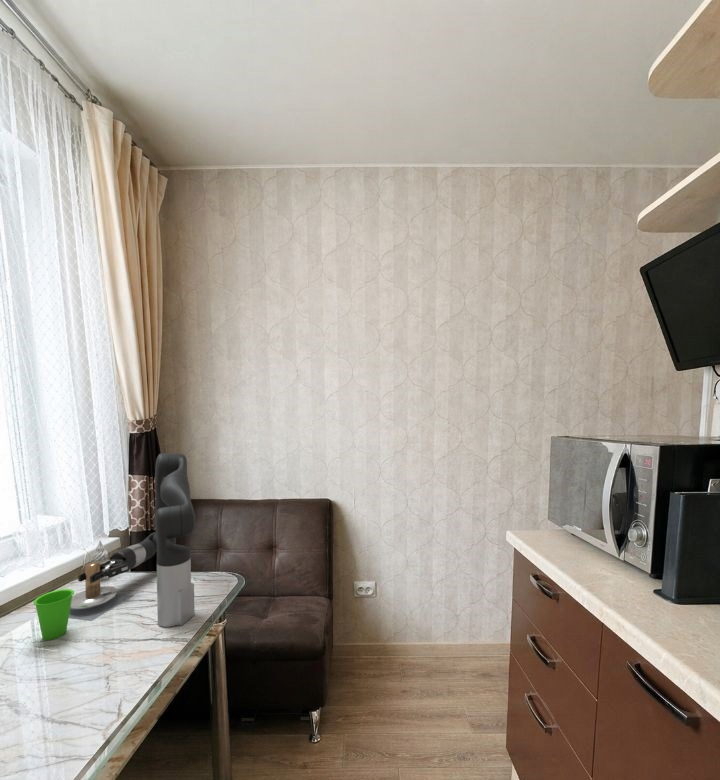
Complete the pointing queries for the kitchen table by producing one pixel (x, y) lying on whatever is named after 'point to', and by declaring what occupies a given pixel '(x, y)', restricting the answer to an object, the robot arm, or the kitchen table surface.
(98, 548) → the ice cream cone
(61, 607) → the cup
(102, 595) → the lid
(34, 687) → the kitchen table surface
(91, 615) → the mat
